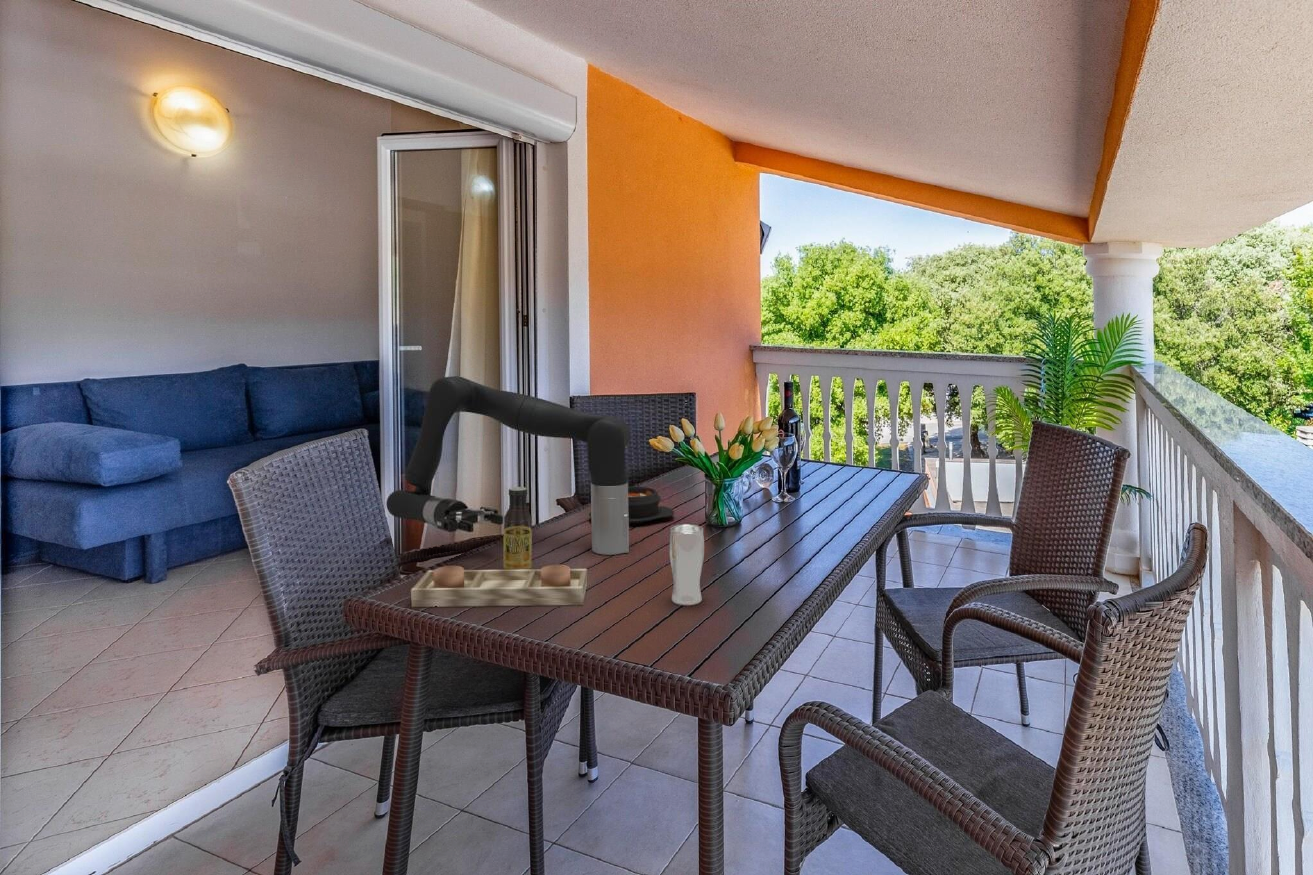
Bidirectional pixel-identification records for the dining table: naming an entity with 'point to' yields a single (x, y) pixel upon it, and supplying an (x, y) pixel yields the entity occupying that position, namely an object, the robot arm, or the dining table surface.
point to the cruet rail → (500, 587)
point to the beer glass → (686, 563)
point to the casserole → (645, 505)
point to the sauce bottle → (517, 532)
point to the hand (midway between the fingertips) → (487, 523)
